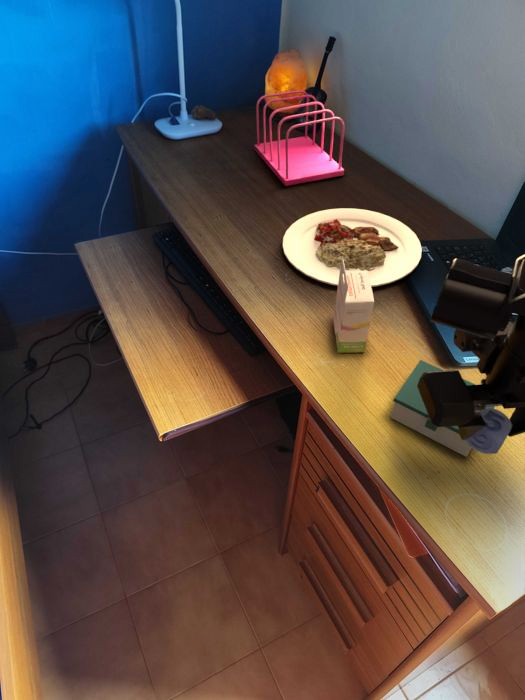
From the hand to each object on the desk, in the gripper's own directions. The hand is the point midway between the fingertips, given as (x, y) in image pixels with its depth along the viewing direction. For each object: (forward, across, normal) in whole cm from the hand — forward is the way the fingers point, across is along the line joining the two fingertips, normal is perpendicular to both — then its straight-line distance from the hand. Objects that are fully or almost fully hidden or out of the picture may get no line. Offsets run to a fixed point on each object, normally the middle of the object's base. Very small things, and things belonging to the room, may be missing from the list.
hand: (485, 435), depth 57 cm
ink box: (+11, +10, -29) cm, 33 cm away
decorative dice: (+1, 0, 0) cm, 1 cm away
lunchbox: (+11, -1, -10) cm, 15 cm away
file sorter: (+11, +10, -101) cm, 102 cm away
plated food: (+11, +4, -56) cm, 57 cm away
